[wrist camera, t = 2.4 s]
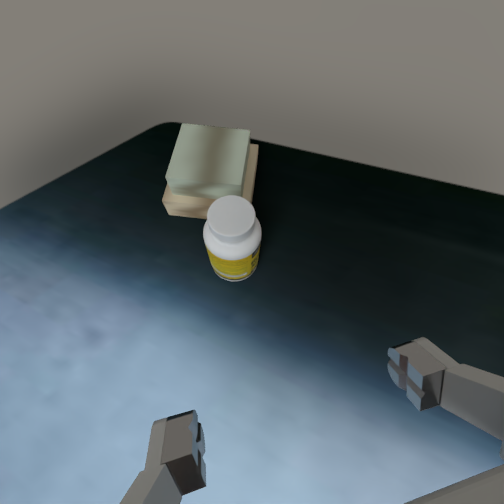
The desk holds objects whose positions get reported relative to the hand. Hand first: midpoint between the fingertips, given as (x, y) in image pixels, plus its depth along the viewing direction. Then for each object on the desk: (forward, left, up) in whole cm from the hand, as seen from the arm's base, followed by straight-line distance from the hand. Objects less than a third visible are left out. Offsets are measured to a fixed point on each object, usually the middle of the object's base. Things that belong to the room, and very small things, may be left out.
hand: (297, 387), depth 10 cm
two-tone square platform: (-9, +22, -16) cm, 28 cm away
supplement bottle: (-5, +12, -16) cm, 21 cm away
